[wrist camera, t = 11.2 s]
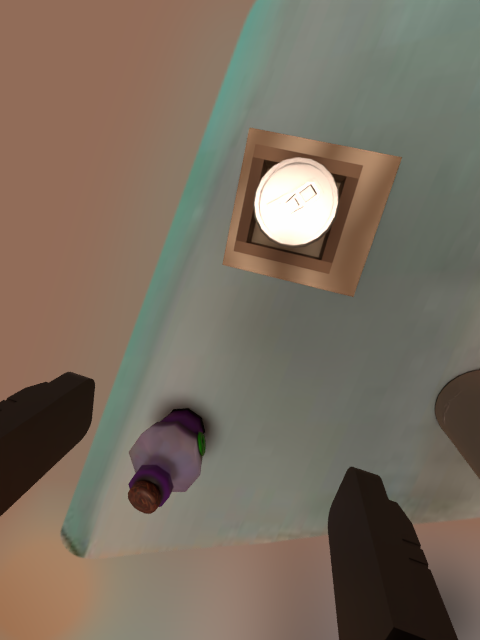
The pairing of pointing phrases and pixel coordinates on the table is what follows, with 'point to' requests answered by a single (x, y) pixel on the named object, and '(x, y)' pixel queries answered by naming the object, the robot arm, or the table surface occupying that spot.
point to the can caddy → (345, 233)
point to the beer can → (296, 202)
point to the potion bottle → (166, 459)
